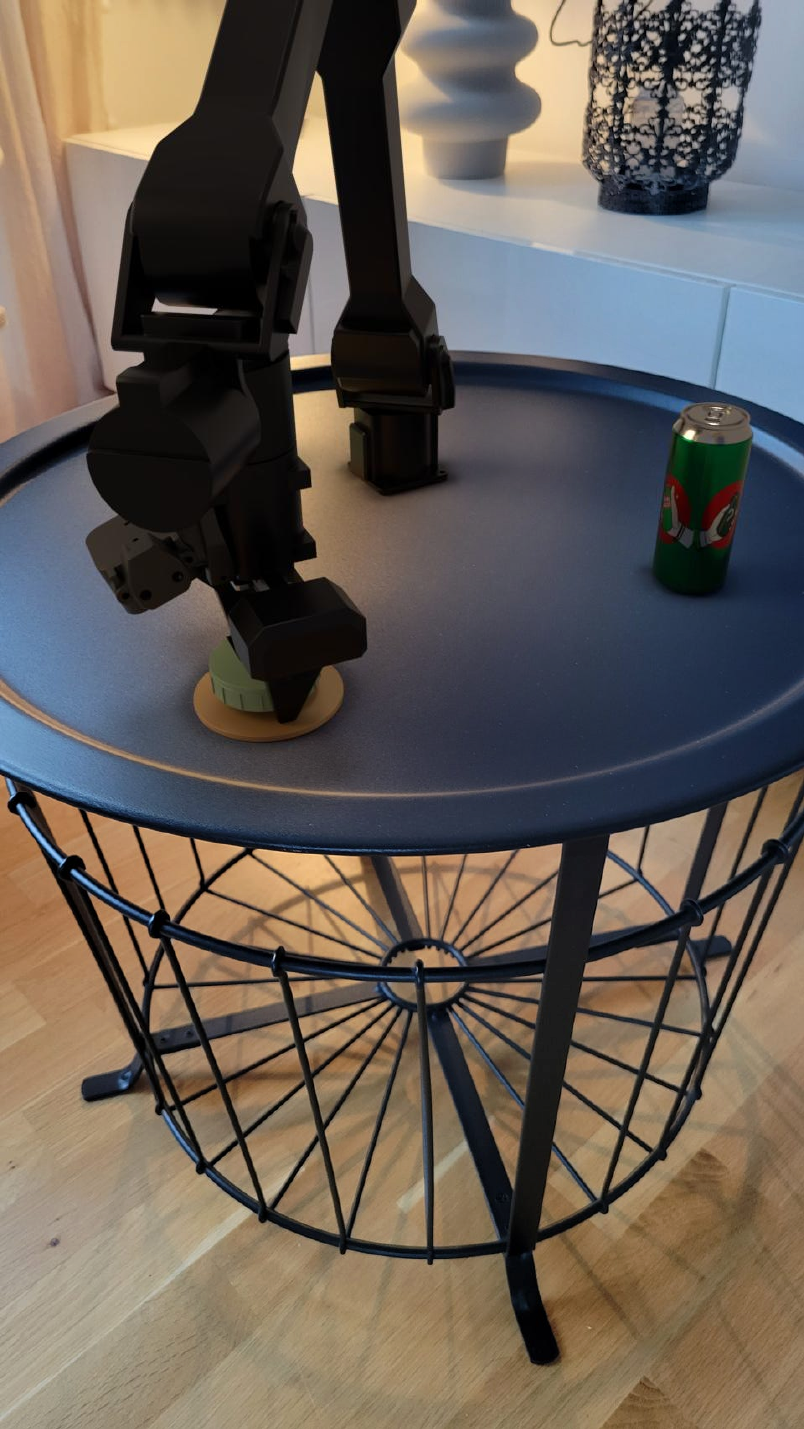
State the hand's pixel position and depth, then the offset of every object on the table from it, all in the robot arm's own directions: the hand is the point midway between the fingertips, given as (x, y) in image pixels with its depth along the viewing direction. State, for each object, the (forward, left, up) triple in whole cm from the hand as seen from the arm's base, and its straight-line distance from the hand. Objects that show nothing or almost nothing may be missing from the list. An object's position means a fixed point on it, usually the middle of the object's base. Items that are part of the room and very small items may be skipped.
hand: (268, 690), depth 63 cm
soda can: (-31, +2, -1) cm, 31 cm away
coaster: (0, 0, 0) cm, 0 cm away
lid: (0, 0, +2) cm, 2 cm away
